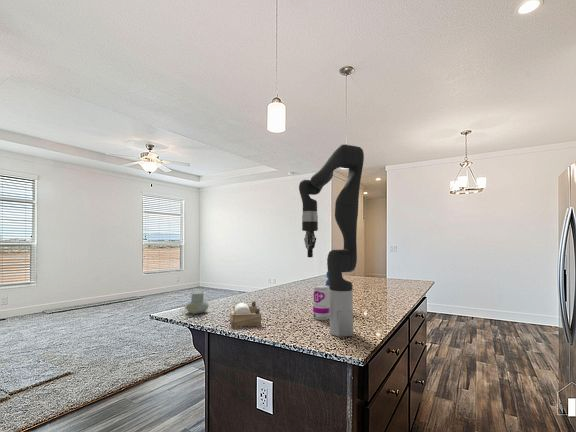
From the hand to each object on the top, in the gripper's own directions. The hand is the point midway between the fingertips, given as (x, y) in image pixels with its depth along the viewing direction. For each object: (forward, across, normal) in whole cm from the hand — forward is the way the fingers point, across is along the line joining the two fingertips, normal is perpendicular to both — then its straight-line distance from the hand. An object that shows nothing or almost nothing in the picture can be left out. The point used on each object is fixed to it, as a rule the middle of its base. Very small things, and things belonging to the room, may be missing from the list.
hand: (310, 257), depth 149 cm
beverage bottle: (+29, +18, -18) cm, 39 cm away
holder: (+29, +3, +30) cm, 42 cm away
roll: (+26, +3, +31) cm, 41 cm away
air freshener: (+29, +25, +53) cm, 65 cm away
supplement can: (+29, +1, -6) cm, 30 cm away
